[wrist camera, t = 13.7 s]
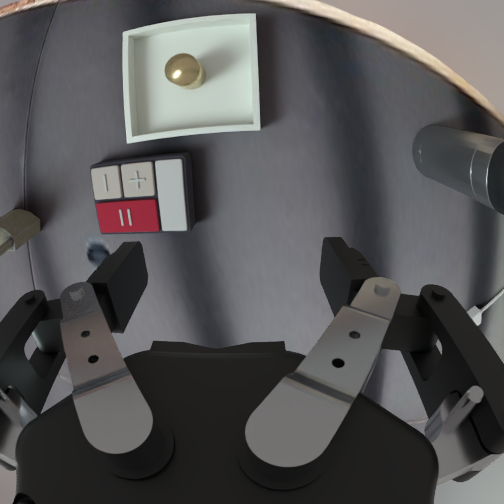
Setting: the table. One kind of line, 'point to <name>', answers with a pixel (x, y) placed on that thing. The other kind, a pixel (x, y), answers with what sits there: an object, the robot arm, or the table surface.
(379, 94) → the table surface
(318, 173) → the table surface
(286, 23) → the table surface
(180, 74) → the cylinder
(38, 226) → the padlock
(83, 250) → the table surface
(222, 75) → the tray
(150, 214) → the calculator
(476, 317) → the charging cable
